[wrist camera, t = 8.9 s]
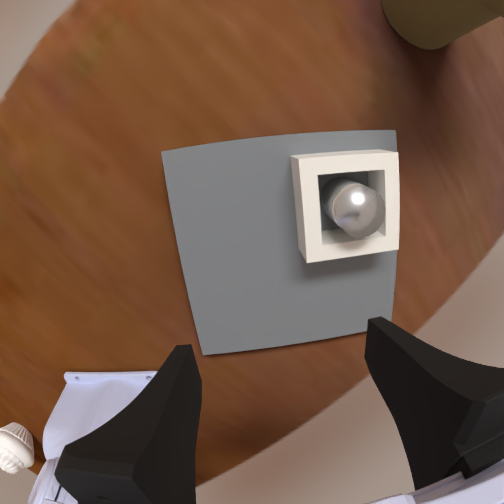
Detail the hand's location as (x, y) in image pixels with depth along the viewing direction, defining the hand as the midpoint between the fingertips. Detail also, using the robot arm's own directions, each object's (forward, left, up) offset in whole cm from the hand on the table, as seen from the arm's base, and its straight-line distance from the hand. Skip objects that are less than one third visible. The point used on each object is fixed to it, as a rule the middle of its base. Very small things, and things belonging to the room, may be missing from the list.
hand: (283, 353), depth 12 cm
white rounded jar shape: (-32, -19, -10) cm, 38 cm away
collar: (+5, +4, -8) cm, 10 cm away
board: (+2, +1, -9) cm, 10 cm away
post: (+5, +4, -8) cm, 10 cm away
